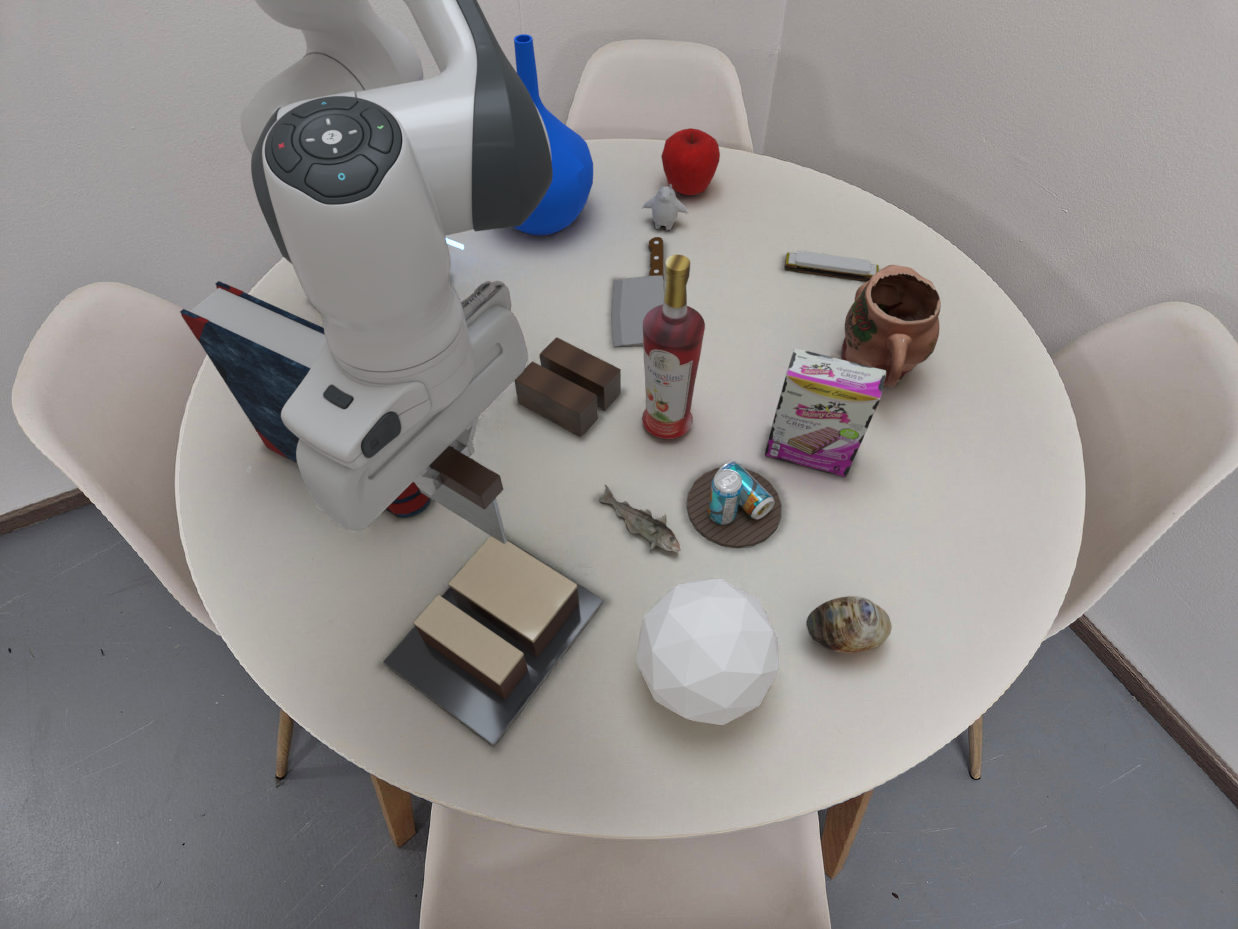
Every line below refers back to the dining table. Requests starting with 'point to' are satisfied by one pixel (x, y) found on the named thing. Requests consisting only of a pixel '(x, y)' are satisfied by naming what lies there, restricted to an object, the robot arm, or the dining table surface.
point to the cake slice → (471, 646)
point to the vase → (555, 158)
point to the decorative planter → (892, 322)
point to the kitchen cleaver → (637, 299)
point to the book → (267, 366)
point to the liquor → (671, 355)
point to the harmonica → (831, 265)
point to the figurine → (665, 207)
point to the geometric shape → (708, 651)
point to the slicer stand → (568, 386)
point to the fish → (644, 523)
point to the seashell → (849, 624)
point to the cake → (500, 633)
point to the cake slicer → (469, 491)
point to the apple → (690, 160)
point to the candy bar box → (824, 411)
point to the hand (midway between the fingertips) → (446, 470)
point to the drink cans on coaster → (734, 506)
